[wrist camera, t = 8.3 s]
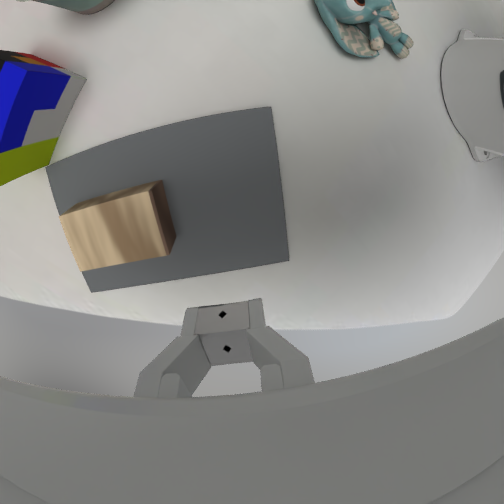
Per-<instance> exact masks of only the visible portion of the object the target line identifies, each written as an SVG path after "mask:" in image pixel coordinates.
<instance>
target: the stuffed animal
mask: <svg viewBox="0 0 504 504" xmlns="http://www.w3.org/2000/svg"><path fill="white" fill-rule="evenodd" d="M314 1H315V4H316V5H317V7H318V10H319V13H320V15H321V17H322V19H323V22H324V23H325V24H326V26H327V27H328V28H329V30H330V31H331V33H332V34H333V36H334V38H335V40H336V42H337V43H338V44H339V45H340V46H341V47H342V48H343V49H344V50H345V51H346V52H347V53H350V54H353V55H356V56H358V57H376V56H378V55H379V53H378V50H381V49H383V48H384V42H385V43H387V44H390V46H391V48H392V50H393V52H394V53H395V54H396V55H397V56H398V57H399V58H402V59H403V58H406V57H407V56H408V55H409V51H408V49H409V48H411V47H412V46H413V41H412V39H411V38H410V37H409V36H408V35H406V34H404V33H402V31H401V28H400V27H399V26H398V25H397V24H395V23H394V22H392V21H390V20H396V19H398V18H399V14H398V12H397V11H396V9H395V6H394V4H393V2H392V0H314ZM362 22H368V23H369V25H370V26H369V29H370V40H369V38H368V37H367V36H366V35H365V34H364V33H363V32H362V31H361V30H360V29H359V28H358V27H357V26H356V25H354V24H356V23H362ZM383 41H384V42H383Z"/></svg>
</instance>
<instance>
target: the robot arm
mask: <svg viewBox="0 0 504 504" xmlns="http://www.w3.org/2000/svg"><path fill="white" fill-rule="evenodd" d="M441 81H442V90H443V95H444V99H445V103H446V106H447V109H448V112H449V115H450V117H451V119H452V121H453V123H454V125H455V127H456V128H457V130H458V131H459V133H460V134H461V135H462V136H463V137H464V139H465V140H466V141H467V143H468V145H469V148H470V150H471V153H472V156H473V158H474V159H475V160H476V161H479V162H484V161H487V160H490V159H493V158H496V157H499V156H504V38H480V37H479V36H477V35H476V34H474V33H473V32H472V31H470V30H466V29H463V30H461V32H460V34H459V37H458V40H457V42H456V43H454V44H453V45H451V46H450V47H449V48H448V49H447V51H446V53H445V55H444V58H443V62H442V69H441ZM242 362H254V364H255V365H256V366H257V367H258V368H259V369H260V372H261V387H262V392H255V393H245V394H235V395H223V396H208V397H192V394H193V393H194V391H195V390H196V388H197V387H198V386H199V384H200V383H201V381H202V380H203V378H204V377H205V375H206V374H207V372H208V371H209V369H210V368H211V366H215V365H224V364H232V363H242ZM0 504H504V318H502V319H499V320H497V321H495V322H493V323H491V324H489V325H487V326H486V327H483V328H481V329H479V330H477V331H475V332H473V333H471V334H468V335H466V336H464V337H462V338H459V339H457V340H455V341H452V342H450V343H448V344H445V345H443V346H440V347H438V348H435V349H432V350H430V351H427V352H424V353H422V354H419V355H416V356H413V357H411V358H407V359H404V360H402V361H399V362H395V363H392V364H389V365H385V366H382V367H379V368H375V369H372V370H368V371H364V372H361V373H357V374H353V375H349V376H345V377H340V378H336V379H332V380H328V381H322V382H317V383H315V382H314V378H313V375H312V370H311V366H310V362H309V358H308V357H307V356H306V355H304V354H303V353H302V352H301V351H299V350H298V349H297V348H296V347H294V346H293V345H292V344H291V343H289V342H288V341H287V340H285V339H284V338H283V337H282V336H281V335H279V334H278V333H277V332H276V331H274V330H273V329H272V328H271V327H270V326H266V323H265V317H264V310H263V304H262V299H261V298H259V299H253V300H249V301H243V302H236V303H229V304H220V305H211V306H201V307H193V308H187V309H186V312H185V316H184V321H183V326H182V331H181V336H180V337H176V338H175V339H174V340H173V341H172V342H171V343H170V344H169V345H168V346H167V347H166V348H165V349H164V350H163V351H162V352H161V353H160V354H159V355H158V356H157V357H156V358H155V359H154V360H153V361H152V362H151V363H150V364H149V365H148V366H147V367H145V368H144V369H143V370H142V371H141V373H140V374H139V378H138V382H137V385H136V389H135V393H134V397H124V396H110V395H98V394H89V393H80V392H73V391H67V390H60V389H53V388H48V387H43V386H38V385H33V384H28V383H24V382H20V381H15V380H11V379H8V378H4V377H1V376H0Z"/></svg>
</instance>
